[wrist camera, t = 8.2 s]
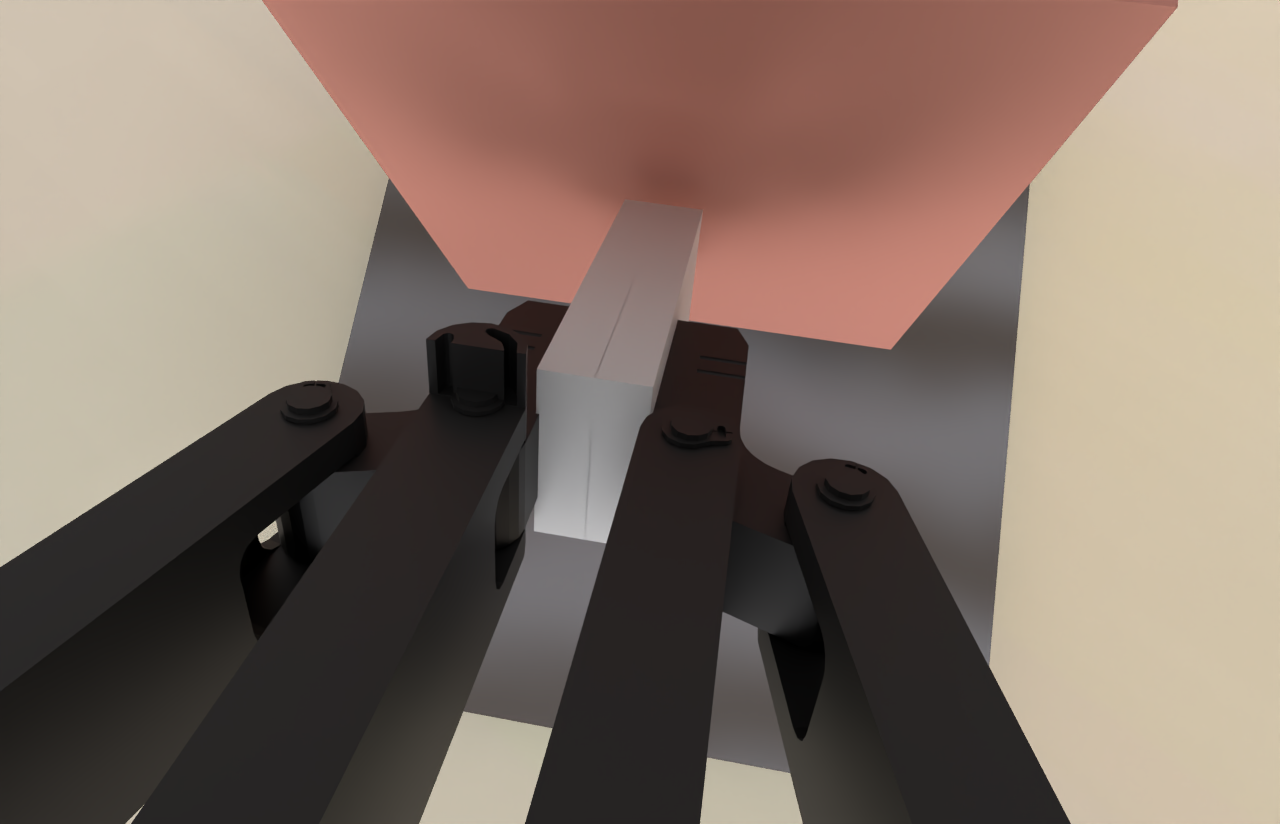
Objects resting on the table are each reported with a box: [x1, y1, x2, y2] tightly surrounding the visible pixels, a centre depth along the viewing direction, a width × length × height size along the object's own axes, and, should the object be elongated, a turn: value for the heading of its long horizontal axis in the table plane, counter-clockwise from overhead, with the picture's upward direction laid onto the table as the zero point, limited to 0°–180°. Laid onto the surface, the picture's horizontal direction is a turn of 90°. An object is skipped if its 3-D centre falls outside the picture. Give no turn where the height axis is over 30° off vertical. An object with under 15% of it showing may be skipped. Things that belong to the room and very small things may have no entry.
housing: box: [339, 178, 1030, 773], centre depth 19 cm, size 28×20×17 cm
